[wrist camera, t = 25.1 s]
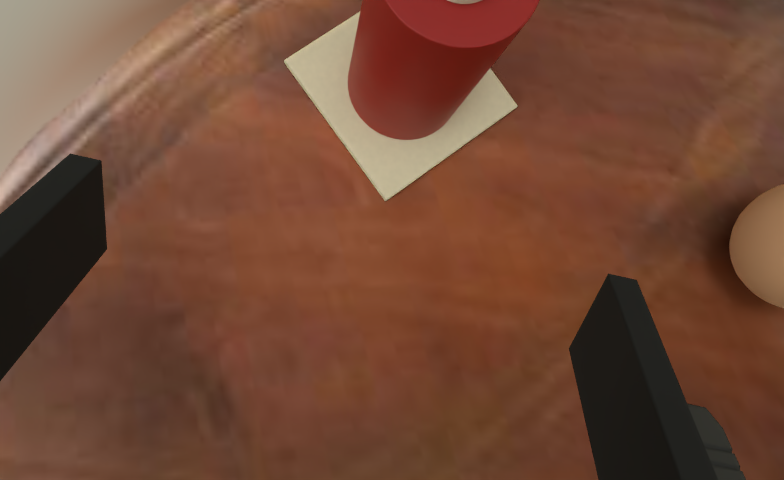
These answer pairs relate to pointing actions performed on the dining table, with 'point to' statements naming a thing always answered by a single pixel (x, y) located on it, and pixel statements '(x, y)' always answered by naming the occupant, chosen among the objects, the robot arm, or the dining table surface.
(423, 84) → the ketchup
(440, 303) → the dining table surface
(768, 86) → the dining table surface
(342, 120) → the mat
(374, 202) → the dining table surface
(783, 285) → the egg
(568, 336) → the dining table surface
